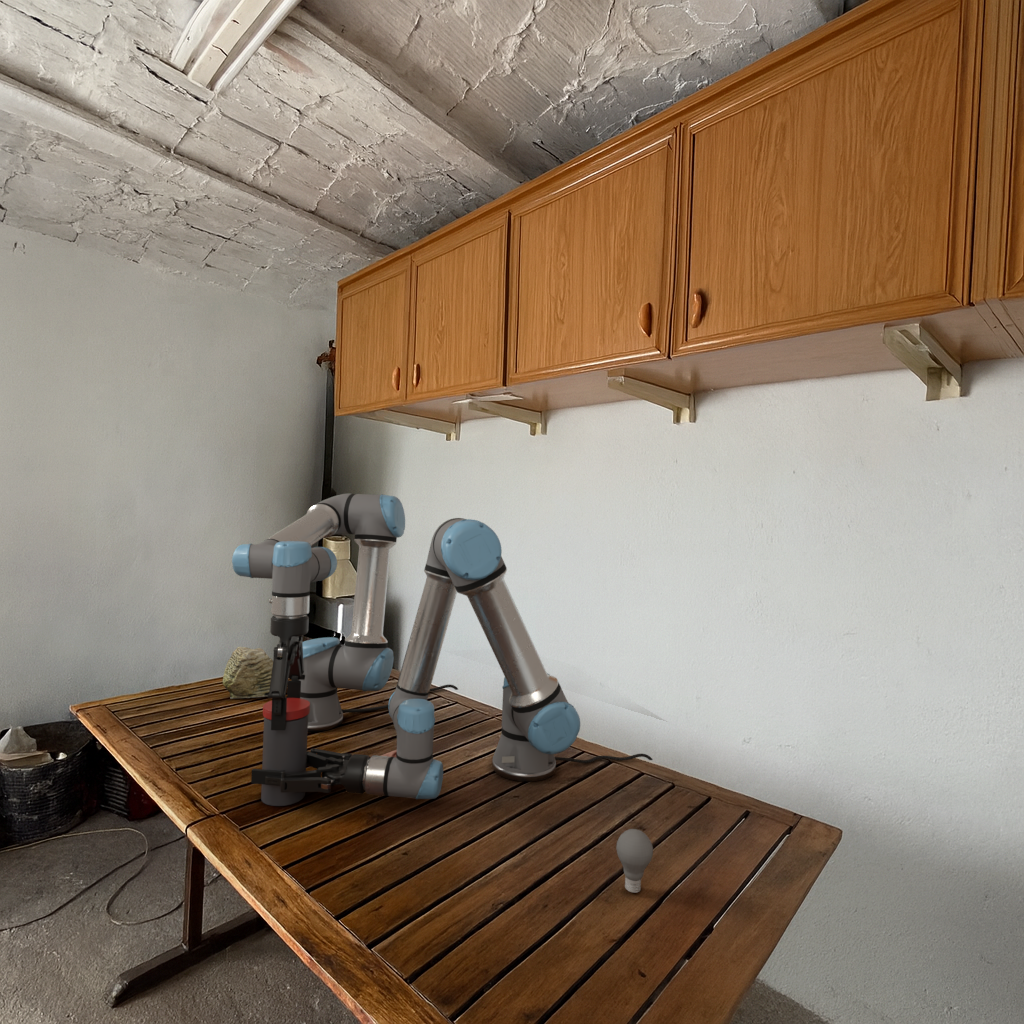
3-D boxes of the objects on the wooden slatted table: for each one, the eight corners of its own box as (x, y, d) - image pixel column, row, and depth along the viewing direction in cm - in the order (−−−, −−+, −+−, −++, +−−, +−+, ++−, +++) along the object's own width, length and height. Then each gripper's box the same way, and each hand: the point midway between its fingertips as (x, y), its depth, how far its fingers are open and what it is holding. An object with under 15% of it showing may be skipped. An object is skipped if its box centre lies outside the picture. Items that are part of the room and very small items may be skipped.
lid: (269, 705, 137) (269, 697, 137) (313, 705, 138) (313, 697, 138) (257, 720, 128) (257, 712, 128) (304, 720, 129) (305, 712, 129)
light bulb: (610, 879, 108) (613, 822, 108) (644, 879, 109) (647, 822, 109) (619, 902, 102) (622, 840, 102) (655, 901, 103) (658, 840, 103)
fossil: (218, 695, 195) (220, 647, 195) (278, 685, 208) (279, 640, 207) (228, 703, 189) (230, 653, 188) (289, 692, 201) (290, 645, 201)
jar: (306, 785, 139) (309, 700, 138) (303, 804, 130) (307, 713, 130) (263, 788, 136) (267, 701, 136) (258, 807, 128) (261, 715, 128)
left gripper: (286, 605, 144) (283, 701, 144) (253, 626, 121) (249, 740, 121) (320, 606, 144) (316, 702, 145) (294, 627, 121) (289, 740, 122)
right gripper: (349, 818, 121) (236, 808, 123) (381, 770, 143) (284, 763, 144) (351, 779, 121) (237, 770, 123) (383, 737, 142) (286, 730, 144)
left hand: (286, 719), depth 133 cm, fingers open, 11 cm apart
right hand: (263, 766), depth 134 cm, fingers closed on jar, 9 cm apart
